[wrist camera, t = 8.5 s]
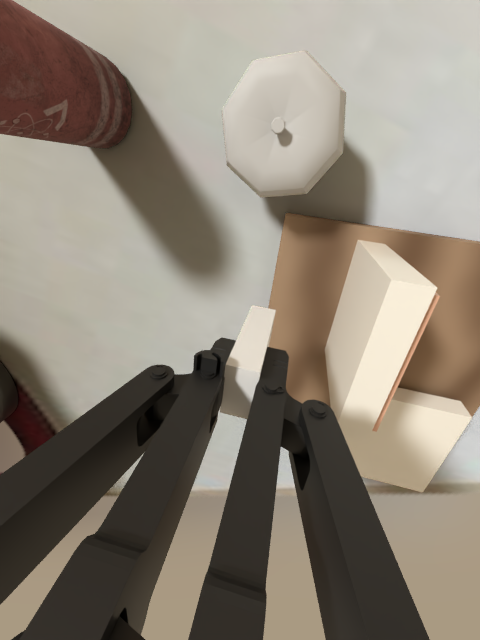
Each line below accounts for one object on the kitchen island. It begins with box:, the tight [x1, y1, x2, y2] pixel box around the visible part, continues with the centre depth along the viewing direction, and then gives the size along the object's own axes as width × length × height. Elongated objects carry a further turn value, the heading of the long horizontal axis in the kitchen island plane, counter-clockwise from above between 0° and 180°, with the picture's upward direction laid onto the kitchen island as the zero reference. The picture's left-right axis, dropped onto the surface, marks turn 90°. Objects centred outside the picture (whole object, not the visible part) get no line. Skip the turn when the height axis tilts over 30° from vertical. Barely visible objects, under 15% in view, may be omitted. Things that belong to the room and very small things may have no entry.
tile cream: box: [325, 240, 440, 442], centre depth 20 cm, size 2×10×10 cm, turn 173°
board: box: [269, 213, 480, 417], centre depth 27 cm, size 20×24×2 cm
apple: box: [222, 50, 346, 197], centre depth 19 cm, size 8×8×7 cm
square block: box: [344, 387, 472, 492], centre depth 28 cm, size 2×10×10 cm
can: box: [0, 0, 132, 148], centre depth 17 cm, size 6×6×14 cm
